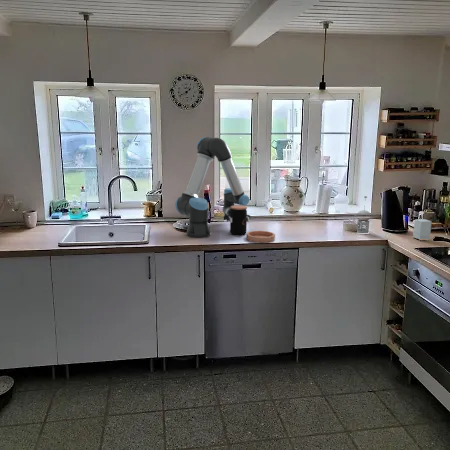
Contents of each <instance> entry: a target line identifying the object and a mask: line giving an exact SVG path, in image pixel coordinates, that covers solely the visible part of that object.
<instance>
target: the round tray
mask: <svg viewBox="0 0 450 450" xmlns="http://www.w3.org/2000/svg"><path fill="white" fill-rule="evenodd" d="M245 235H246V236H245V238H246V240H248V241H250V242H254V243H271V242H274V241H275V239H276V233H274V232H272V231H269V230H251V231H248V232H246V234H245Z"/></svg>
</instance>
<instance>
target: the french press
mask: <svg viewBox="0 0 450 450" xmlns="http://www.w3.org/2000/svg"><path fill="white" fill-rule="evenodd" d="M363 198H364V200H366V199H367V198H368V196H366V195H364V196H363ZM360 215H363V216H365V215H368V216H369V215H371V212H370V211H368V210H366V206H364V209H362V210H359V211H358V212H357V214H354V216H353V218H352V220H353V223H355V222H356V223H357V224H356V228H357V227H358V228H357V229H358V230H357V232H358V233H368V232H369V231H370V230H369V229H370V219H369V218H367V217H359V216H360ZM356 216H357V218H358V220H357V221H356V220H355V217H356ZM357 225H359V226H357ZM369 233H370V232H369Z"/></svg>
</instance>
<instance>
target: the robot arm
mask: <svg viewBox="0 0 450 450" xmlns="http://www.w3.org/2000/svg"><path fill="white" fill-rule="evenodd" d="M196 149H197V152H196V155H197V159H196V162H195V165H194V167H193V170H192V173H191V175H190V179H189V181H188V183H187V186H186V189H185V191H183V192H182V193H181V196H179V197H178V198H177V199H176V200H175V204H174V206H175V207H174V208H175V209H176V211H177V212H178V213H179V214H180V215H182V216H185V217H186V216H187V217H189V220H188V221H189V222H188V227H187V230H186V236H187V237H189V238H195V239H199V238H200V239H201V238H209V237H210V236H211V230H210V226H209V224H208V221H209V218H208V217H209V215H208V214H209V204H208V201H207V199H206V198H203V197H199V194H200V191H201V188H202V186H203V183H204V179H205V177H206V176H207V175H206V174H207V172H208V169H209V166H210V163H211V162H214V159H215V157H216V159H217V161H218V162H219V163H220V164H221V168H222V170H223V172H224V176H225V178H226V181H227V183H228V185H229V188H224V190H223V207H222V213H223V221H226V222H229V223H230V222H231V223H232V218H231V217H230V212H231V206H235V205H241V206H246V205H248V204H249V202H250V196H249V195H248V194H245V192H244V190H243V189H244V188H243V186H242V183H241V180H240V178H239V176H238V172H237V170H236V167H235V165H234V162H233V160H232V157H233V155H232V152H231V150H230V147H229V146H228V144H227V143H226V141H225V140H224V139H222V138H220V137H209V136H206V137H201V138H200V139H199V140H198V141H197V143H196ZM250 220H251V215H250V214H247V223H250Z"/></svg>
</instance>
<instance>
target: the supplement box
mask: <svg viewBox="0 0 450 450" xmlns="http://www.w3.org/2000/svg"><path fill="white" fill-rule="evenodd" d="M432 221H433V220H428V219H425V218H422V219H421V218H418V219H417V218H416V219H414V224H413V234H412V238H413V237H415V238H418V239H430V238H431V230H432ZM430 240H431V239H430Z"/></svg>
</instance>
